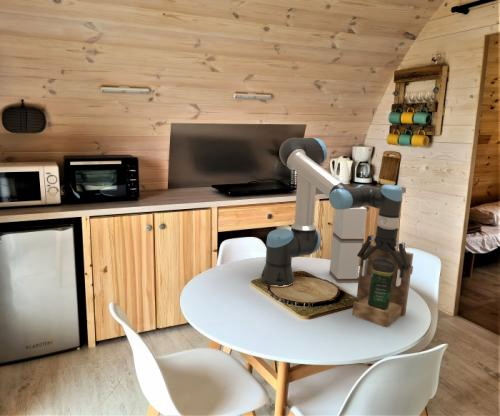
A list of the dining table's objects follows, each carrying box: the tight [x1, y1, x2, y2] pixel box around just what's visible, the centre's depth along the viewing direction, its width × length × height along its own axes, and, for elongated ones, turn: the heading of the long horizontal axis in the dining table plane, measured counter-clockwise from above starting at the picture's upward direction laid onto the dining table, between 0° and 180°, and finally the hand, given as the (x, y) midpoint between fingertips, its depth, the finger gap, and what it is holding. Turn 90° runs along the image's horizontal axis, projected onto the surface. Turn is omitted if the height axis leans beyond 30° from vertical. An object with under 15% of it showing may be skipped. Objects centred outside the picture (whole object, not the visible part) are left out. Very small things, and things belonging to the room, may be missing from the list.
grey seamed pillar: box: [328, 207, 368, 284], centre depth 204 cm, size 11×11×35 cm
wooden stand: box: [351, 241, 414, 328], centre depth 170 cm, size 20×17×25 cm
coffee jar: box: [368, 257, 394, 309], centre depth 168 cm, size 10×8×19 cm
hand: (380, 280), depth 168 cm, fingers open, 13 cm apart
